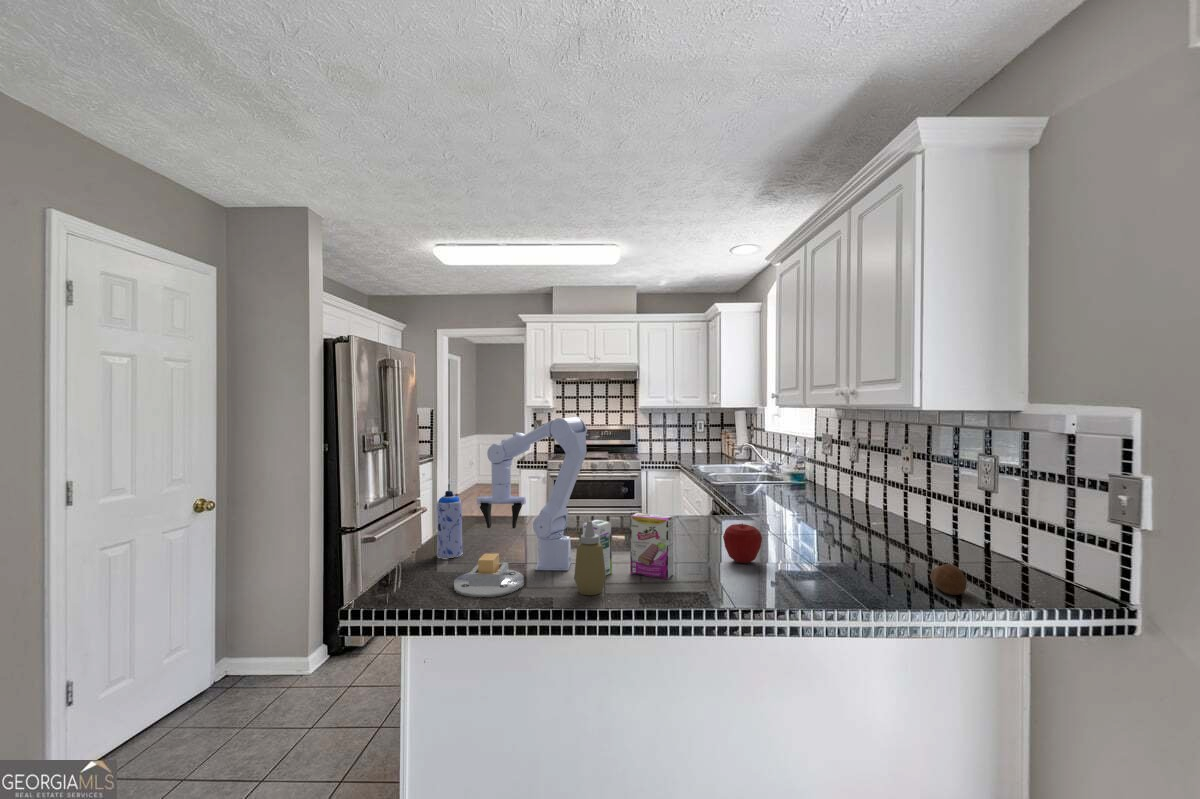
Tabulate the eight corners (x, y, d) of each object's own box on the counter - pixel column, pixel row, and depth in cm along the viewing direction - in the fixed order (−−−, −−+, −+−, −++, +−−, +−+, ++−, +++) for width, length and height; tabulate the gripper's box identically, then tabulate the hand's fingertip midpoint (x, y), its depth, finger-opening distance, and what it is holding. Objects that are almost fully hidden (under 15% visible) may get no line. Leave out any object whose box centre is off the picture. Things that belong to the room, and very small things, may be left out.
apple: (720, 565, 166) (720, 525, 166) (726, 555, 176) (726, 517, 176) (759, 569, 162) (759, 528, 162) (764, 559, 172) (763, 520, 171)
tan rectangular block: (499, 575, 154) (499, 553, 154) (493, 583, 148) (493, 560, 148) (484, 575, 154) (484, 553, 154) (478, 583, 148) (478, 560, 148)
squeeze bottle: (582, 600, 140) (582, 526, 140) (569, 589, 147) (568, 519, 147) (611, 594, 144) (611, 522, 143) (597, 584, 151) (596, 516, 150)
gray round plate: (529, 574, 159) (529, 558, 159) (516, 598, 142) (515, 580, 141) (465, 573, 161) (465, 557, 160) (444, 597, 143) (444, 579, 142)
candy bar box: (629, 574, 159) (629, 515, 158) (636, 569, 163) (635, 512, 163) (668, 580, 154) (668, 519, 153) (674, 574, 158) (673, 515, 158)
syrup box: (599, 578, 155) (599, 525, 155) (583, 574, 159) (582, 522, 159) (612, 573, 160) (611, 521, 160) (595, 569, 163) (595, 518, 163)
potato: (948, 584, 149) (948, 557, 149) (977, 598, 139) (977, 570, 139) (922, 584, 149) (922, 558, 149) (949, 599, 138) (949, 571, 138)
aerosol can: (435, 553, 180) (434, 490, 180) (460, 550, 183) (459, 488, 183) (439, 560, 173) (438, 494, 172) (465, 557, 176) (464, 492, 176)
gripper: (474, 485, 170) (474, 530, 171) (522, 485, 170) (522, 531, 170) (480, 481, 177) (480, 524, 178) (526, 481, 177) (527, 525, 177)
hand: (501, 527), depth 174 cm, fingers open, 7 cm apart
